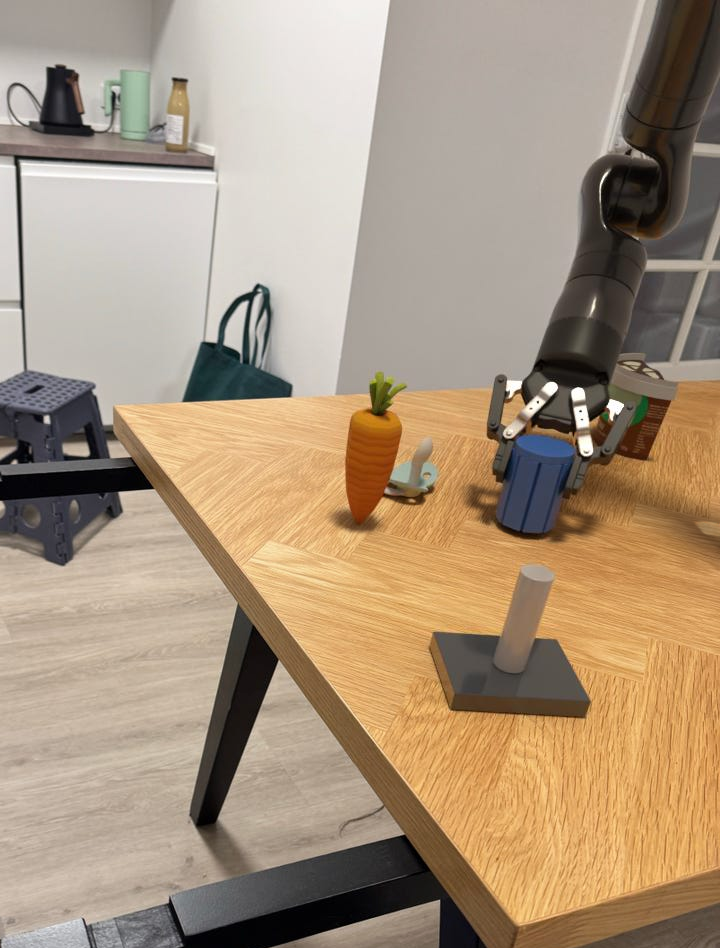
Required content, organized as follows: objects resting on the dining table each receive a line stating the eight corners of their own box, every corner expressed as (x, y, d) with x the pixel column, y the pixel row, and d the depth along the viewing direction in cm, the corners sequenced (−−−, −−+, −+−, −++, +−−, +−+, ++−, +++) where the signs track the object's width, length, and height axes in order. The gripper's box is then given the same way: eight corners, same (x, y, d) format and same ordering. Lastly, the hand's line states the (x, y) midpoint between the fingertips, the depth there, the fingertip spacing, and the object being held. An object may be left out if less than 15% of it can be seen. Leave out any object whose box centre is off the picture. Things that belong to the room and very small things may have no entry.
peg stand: (551, 654, 71) (588, 549, 66) (585, 717, 64) (628, 607, 59) (429, 646, 70) (455, 540, 65) (450, 709, 64) (481, 597, 59)
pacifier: (365, 495, 94) (419, 508, 92) (373, 438, 90) (430, 451, 88) (387, 472, 99) (439, 484, 97) (396, 418, 96) (450, 429, 94)
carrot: (341, 508, 90) (365, 360, 82) (388, 519, 89) (418, 370, 81) (327, 527, 86) (351, 374, 78) (376, 539, 85) (406, 385, 77)
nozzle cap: (543, 510, 92) (564, 436, 88) (560, 534, 88) (583, 458, 83) (490, 506, 92) (509, 432, 88) (504, 531, 87) (525, 454, 83)
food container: (573, 423, 118) (596, 347, 112) (618, 428, 118) (644, 352, 113) (600, 459, 108) (627, 378, 102) (650, 464, 108) (680, 383, 102)
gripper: (514, 301, 87) (459, 453, 85) (667, 328, 83) (615, 490, 80) (510, 343, 94) (460, 485, 92) (652, 371, 90) (603, 521, 87)
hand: (532, 487), depth 86 cm, fingers closed on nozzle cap, 6 cm apart
